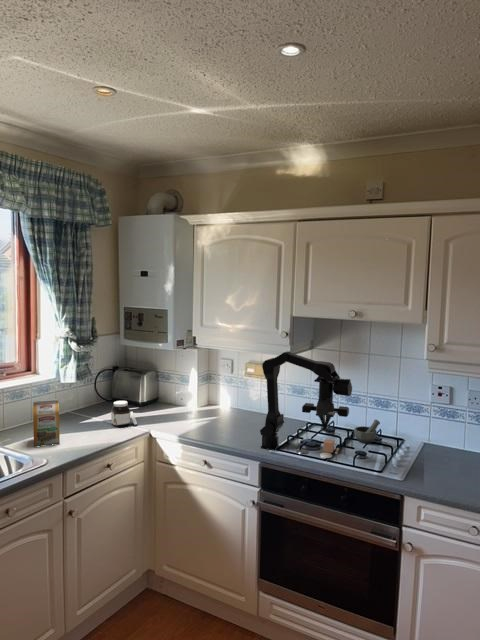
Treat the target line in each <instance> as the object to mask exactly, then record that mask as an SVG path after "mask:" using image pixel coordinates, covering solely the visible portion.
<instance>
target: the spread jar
mask: <svg viewBox="0 0 480 640" xmlns="http://www.w3.org/2000/svg"><path fill="white" fill-rule="evenodd" d="M110 410H111V411H110V412H111V413H110V417H111V418H110V420H111V423H112V426H113V427H115V428H124V427H127V426H129V425H130V424H131V419H132V422H133V424H134V426H136V425H137V424H138V423H137V420H136V417H135V414H134V412H133V411H131V409H130V407H129V406H128V401H127V400H116V401H114V402H113V406H112V407H111V409H110Z"/></svg>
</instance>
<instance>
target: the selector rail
mask: <svg viewBox="0 0 480 640" xmlns="http://www.w3.org/2000/svg"><path fill="white" fill-rule="evenodd" d="M301 445H302V443H301V442H298V443H297V444H296V446H295V447H294V448H295V449H297V450H299V447H300V446H301ZM334 451H335V452H334V454H335V455H338V452H339V451H340V448H339V447H337V448H336V449H335V450H334Z"/></svg>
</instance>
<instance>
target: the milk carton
mask: <svg viewBox="0 0 480 640" xmlns="http://www.w3.org/2000/svg"><path fill="white" fill-rule="evenodd" d="M59 407H60V405H59V399H49V400H48V399H47V400H37V401H36V400H35V401H34V400H33V401H32V421H33V424H32V425H33V429H32V430H33V447H34V446H40V447H42V446H41V445H49V446H53V445H52V444H58V445H61V444H60V443H61V442H60V441H61V440H60V408H59Z"/></svg>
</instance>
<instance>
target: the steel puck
mask: <svg viewBox="0 0 480 640" xmlns="http://www.w3.org/2000/svg"><path fill="white" fill-rule="evenodd" d="M296 453H297V454H299V455H304V456H305V455H308V454H310V453H309V451H308V450H307V449H297V451H296Z"/></svg>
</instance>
